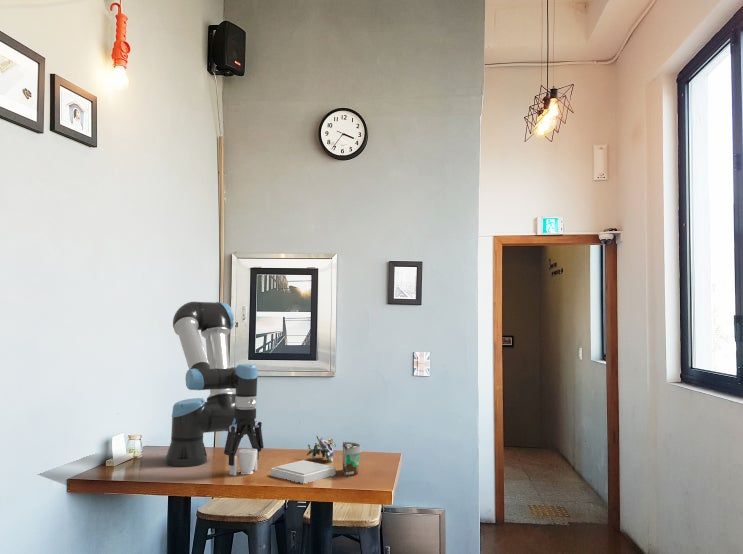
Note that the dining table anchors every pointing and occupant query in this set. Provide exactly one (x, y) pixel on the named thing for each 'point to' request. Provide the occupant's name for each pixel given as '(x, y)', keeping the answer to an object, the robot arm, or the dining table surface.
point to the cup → (247, 460)
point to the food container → (351, 458)
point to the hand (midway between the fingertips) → (243, 472)
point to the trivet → (303, 471)
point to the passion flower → (323, 449)
